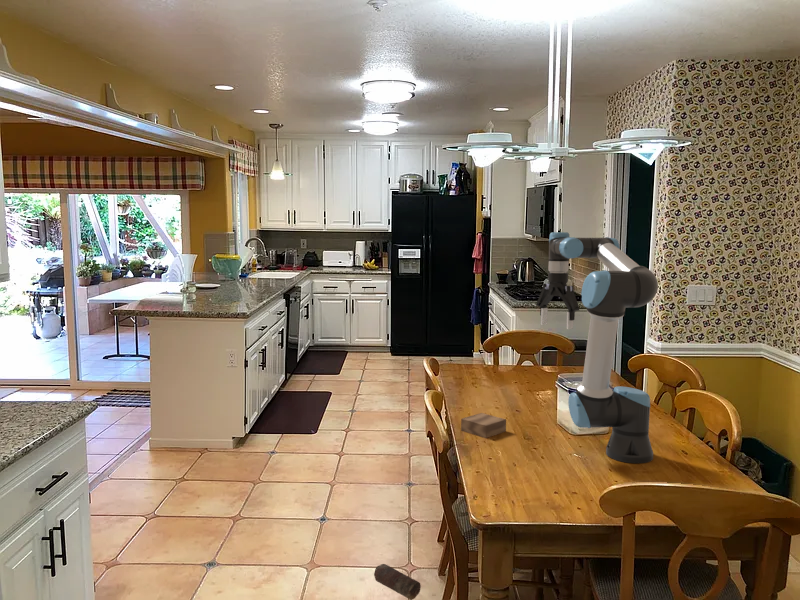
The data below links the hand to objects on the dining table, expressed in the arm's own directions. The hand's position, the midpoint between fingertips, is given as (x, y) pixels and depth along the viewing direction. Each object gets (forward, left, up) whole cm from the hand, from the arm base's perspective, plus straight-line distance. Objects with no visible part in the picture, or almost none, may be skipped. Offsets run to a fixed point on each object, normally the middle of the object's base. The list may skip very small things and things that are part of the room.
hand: (556, 326), depth 254 cm
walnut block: (+7, +30, -39) cm, 50 cm away
